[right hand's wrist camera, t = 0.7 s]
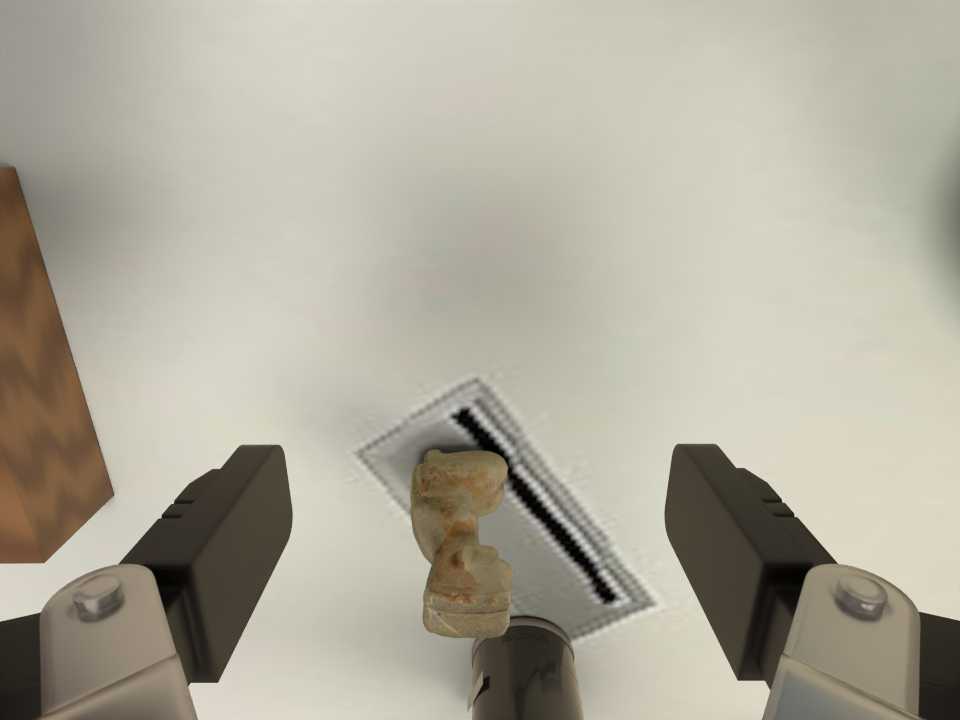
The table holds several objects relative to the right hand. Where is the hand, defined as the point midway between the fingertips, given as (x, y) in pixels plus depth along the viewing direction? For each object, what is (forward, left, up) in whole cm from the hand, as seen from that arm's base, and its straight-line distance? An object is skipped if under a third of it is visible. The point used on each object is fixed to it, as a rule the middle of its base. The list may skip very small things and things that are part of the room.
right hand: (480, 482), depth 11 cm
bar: (-7, +33, -28) cm, 44 cm away
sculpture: (-18, +2, -28) cm, 34 cm away
